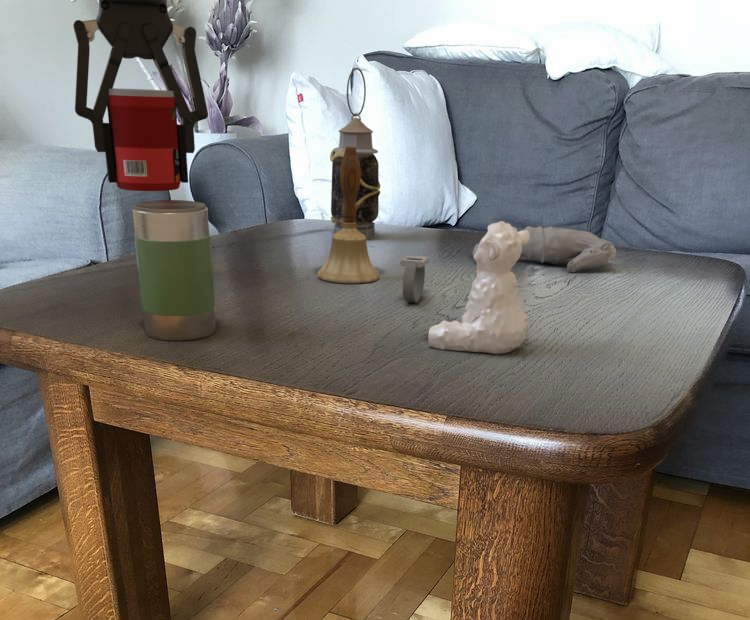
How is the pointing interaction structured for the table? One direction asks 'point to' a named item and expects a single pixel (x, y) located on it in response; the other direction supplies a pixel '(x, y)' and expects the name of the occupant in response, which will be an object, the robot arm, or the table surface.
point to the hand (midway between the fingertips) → (148, 181)
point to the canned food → (144, 139)
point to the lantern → (369, 180)
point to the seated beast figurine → (490, 299)
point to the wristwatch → (413, 277)
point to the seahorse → (566, 248)
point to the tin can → (175, 269)
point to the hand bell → (349, 233)
